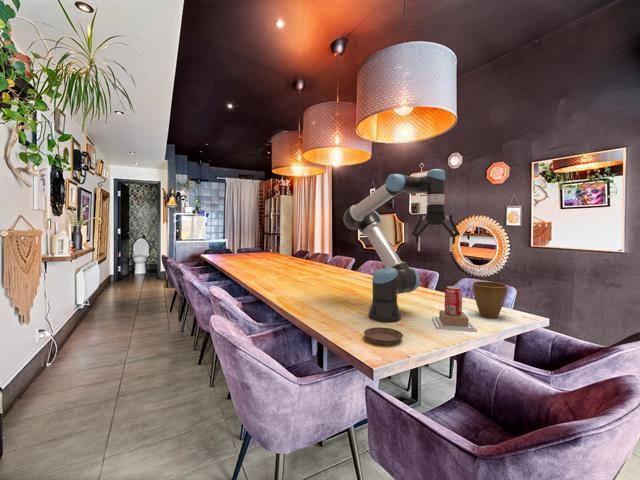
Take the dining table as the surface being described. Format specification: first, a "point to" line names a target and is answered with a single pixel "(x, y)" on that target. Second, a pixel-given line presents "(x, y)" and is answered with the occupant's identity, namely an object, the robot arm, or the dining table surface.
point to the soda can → (453, 300)
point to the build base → (453, 322)
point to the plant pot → (489, 297)
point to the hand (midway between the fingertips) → (434, 251)
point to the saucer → (383, 335)
